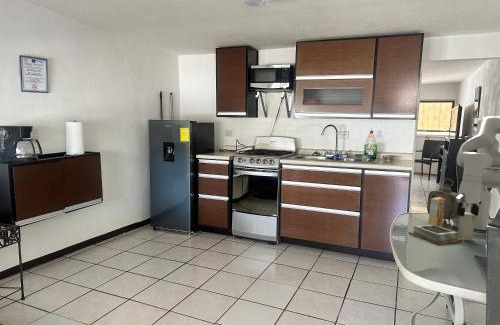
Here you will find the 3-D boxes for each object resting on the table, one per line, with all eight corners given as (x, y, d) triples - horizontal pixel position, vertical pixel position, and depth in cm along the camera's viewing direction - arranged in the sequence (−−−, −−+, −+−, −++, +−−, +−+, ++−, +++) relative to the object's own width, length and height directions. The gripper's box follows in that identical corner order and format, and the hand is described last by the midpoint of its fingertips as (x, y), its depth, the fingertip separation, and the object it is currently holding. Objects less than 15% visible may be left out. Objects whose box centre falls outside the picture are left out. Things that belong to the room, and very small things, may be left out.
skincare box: (472, 241, 157) (476, 215, 155) (462, 240, 158) (465, 214, 156) (467, 236, 163) (470, 212, 162) (457, 235, 164) (460, 211, 162)
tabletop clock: (425, 220, 190) (430, 176, 187) (435, 219, 194) (440, 176, 192) (450, 228, 177) (456, 180, 175) (460, 226, 182) (466, 180, 179)
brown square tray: (431, 231, 170) (432, 223, 169) (462, 241, 155) (463, 233, 155) (408, 233, 163) (409, 225, 163) (438, 244, 149) (439, 236, 148)
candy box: (434, 224, 182) (437, 196, 181) (443, 226, 179) (446, 198, 177) (427, 227, 177) (430, 198, 175) (435, 229, 173) (439, 199, 172)
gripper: (476, 178, 164) (471, 213, 165) (451, 177, 157) (447, 214, 158) (492, 180, 157) (487, 216, 159) (467, 180, 150) (462, 218, 152)
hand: (467, 215), depth 158 cm, fingers open, 9 cm apart
